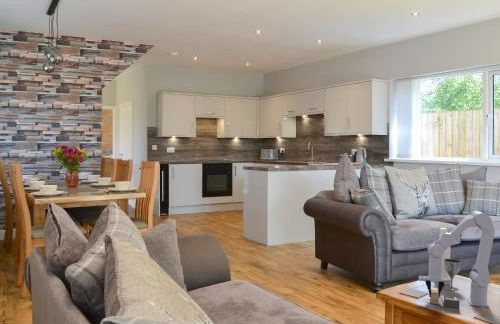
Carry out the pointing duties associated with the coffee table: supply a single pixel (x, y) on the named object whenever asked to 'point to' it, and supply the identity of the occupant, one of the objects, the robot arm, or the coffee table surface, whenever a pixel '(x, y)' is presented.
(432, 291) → the tan wooden block
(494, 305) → the coffee table surface
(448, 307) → the endcap rail
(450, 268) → the wine glass
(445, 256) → the bottle
